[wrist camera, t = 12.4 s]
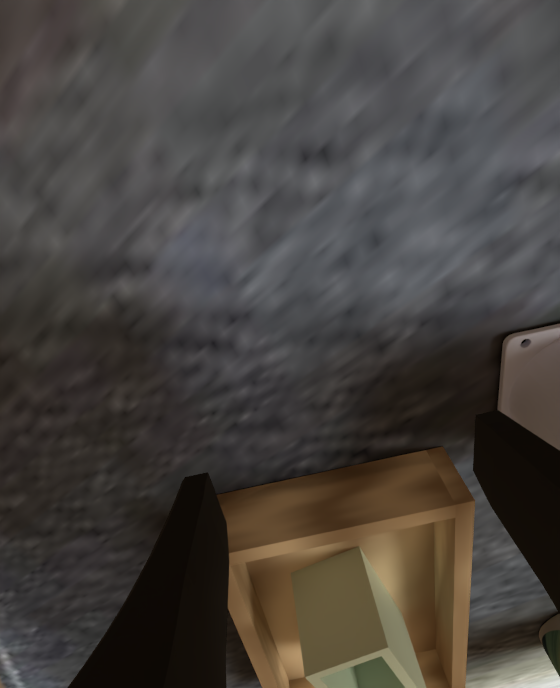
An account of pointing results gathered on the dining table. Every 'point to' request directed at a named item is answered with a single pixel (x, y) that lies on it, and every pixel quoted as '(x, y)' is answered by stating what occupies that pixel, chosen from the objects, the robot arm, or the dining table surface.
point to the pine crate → (377, 545)
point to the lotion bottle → (552, 640)
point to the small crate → (351, 627)
